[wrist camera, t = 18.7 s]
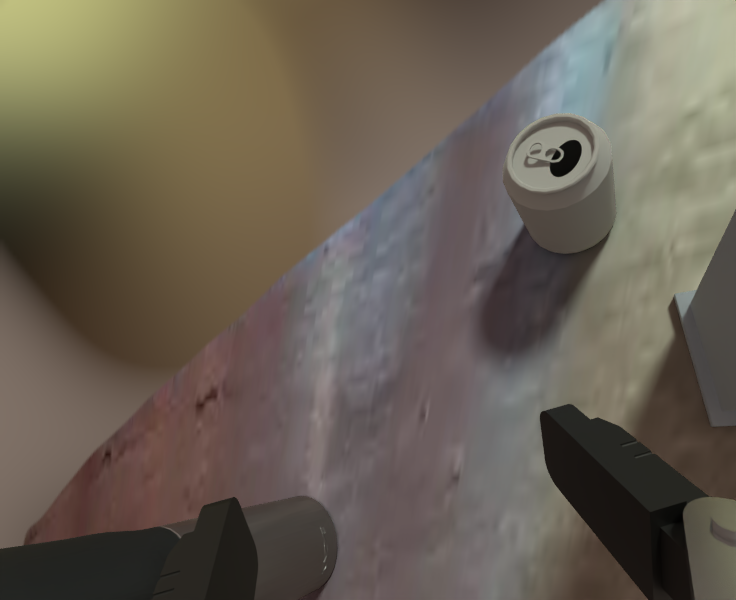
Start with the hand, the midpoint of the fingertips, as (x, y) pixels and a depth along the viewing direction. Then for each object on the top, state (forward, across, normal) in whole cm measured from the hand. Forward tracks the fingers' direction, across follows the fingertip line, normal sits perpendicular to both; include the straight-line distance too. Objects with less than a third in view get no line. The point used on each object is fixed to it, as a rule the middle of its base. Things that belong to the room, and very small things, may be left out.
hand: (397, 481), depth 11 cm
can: (+28, -23, +1) cm, 36 cm away
